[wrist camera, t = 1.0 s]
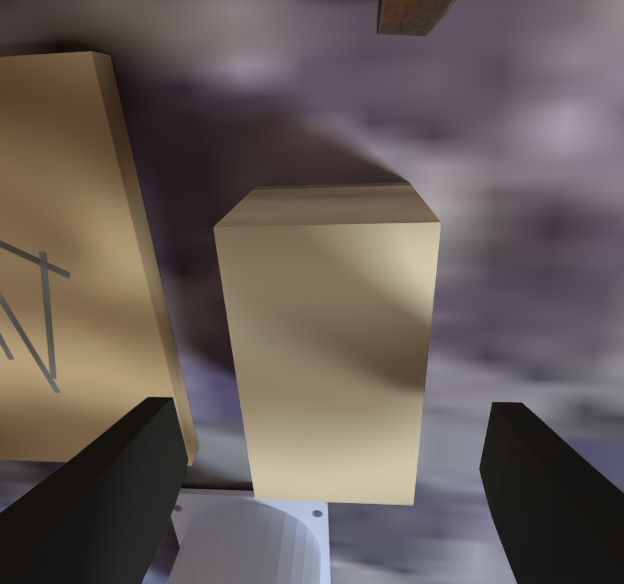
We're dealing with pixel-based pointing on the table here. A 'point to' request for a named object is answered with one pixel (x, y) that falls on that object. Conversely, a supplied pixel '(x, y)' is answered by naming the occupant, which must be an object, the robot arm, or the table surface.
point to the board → (75, 264)
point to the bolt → (410, 16)
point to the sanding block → (330, 336)
